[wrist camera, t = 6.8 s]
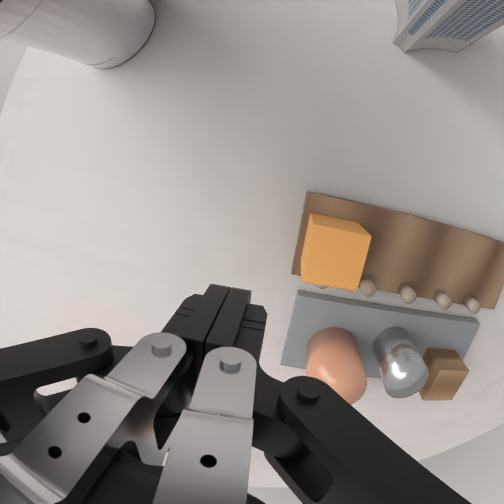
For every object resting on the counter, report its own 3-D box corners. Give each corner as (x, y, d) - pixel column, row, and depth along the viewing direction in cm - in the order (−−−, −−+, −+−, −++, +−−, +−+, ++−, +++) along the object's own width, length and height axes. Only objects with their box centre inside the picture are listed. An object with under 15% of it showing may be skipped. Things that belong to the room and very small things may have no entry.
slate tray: (298, 290, 27) (298, 295, 26) (475, 318, 25) (480, 323, 24) (281, 358, 30) (280, 364, 29) (447, 375, 28) (450, 381, 27)
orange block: (300, 259, 25) (301, 281, 20) (310, 212, 24) (313, 224, 19) (346, 268, 24) (356, 291, 20) (357, 222, 23) (371, 236, 19)
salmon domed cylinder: (313, 323, 27) (315, 361, 21) (363, 331, 26) (375, 369, 21) (300, 364, 28) (299, 405, 23) (347, 370, 28) (354, 411, 22)
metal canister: (380, 324, 26) (396, 361, 20) (415, 328, 26) (436, 364, 20) (367, 357, 27) (378, 397, 21) (400, 361, 27) (416, 398, 21)
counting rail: (291, 269, 27) (290, 282, 24) (306, 191, 25) (308, 195, 22) (487, 304, 25) (501, 317, 22) (507, 243, 23) (524, 252, 20)
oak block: (427, 347, 26) (440, 369, 22) (454, 349, 26) (469, 370, 22) (412, 376, 27) (422, 400, 23) (440, 378, 27) (451, 399, 23)
